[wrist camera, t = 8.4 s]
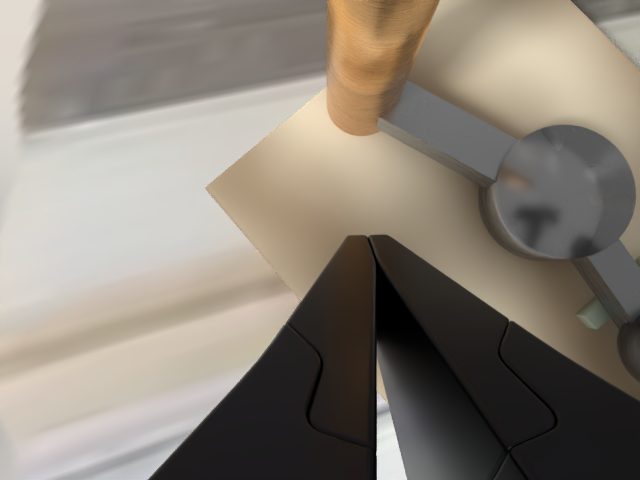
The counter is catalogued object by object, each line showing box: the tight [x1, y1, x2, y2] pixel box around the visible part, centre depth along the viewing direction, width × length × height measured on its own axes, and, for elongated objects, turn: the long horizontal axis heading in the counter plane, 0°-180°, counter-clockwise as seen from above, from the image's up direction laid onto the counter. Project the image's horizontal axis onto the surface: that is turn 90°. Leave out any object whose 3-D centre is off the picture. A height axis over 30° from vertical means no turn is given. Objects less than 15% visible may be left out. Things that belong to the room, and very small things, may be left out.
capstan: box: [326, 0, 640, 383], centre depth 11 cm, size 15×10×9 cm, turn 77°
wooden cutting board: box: [205, 0, 640, 405], centre depth 16 cm, size 16×17×2 cm
